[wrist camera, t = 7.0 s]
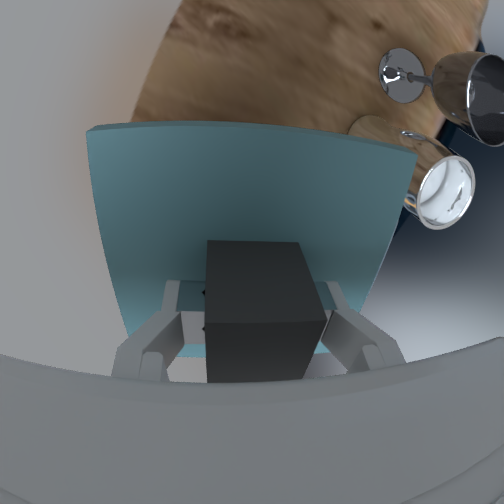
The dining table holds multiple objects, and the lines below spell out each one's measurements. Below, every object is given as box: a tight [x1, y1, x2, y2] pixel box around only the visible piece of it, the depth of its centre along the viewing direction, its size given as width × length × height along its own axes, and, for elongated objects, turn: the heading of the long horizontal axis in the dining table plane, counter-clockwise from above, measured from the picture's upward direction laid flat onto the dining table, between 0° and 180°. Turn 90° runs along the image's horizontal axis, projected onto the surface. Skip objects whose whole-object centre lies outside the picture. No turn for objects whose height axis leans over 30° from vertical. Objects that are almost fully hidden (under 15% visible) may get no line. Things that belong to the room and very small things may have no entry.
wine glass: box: [379, 48, 504, 147], centre depth 20 cm, size 8×8×15 cm
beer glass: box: [348, 115, 475, 229], centre depth 24 cm, size 7×7×15 cm
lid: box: [86, 121, 418, 383], centre depth 11 cm, size 12×12×5 cm
